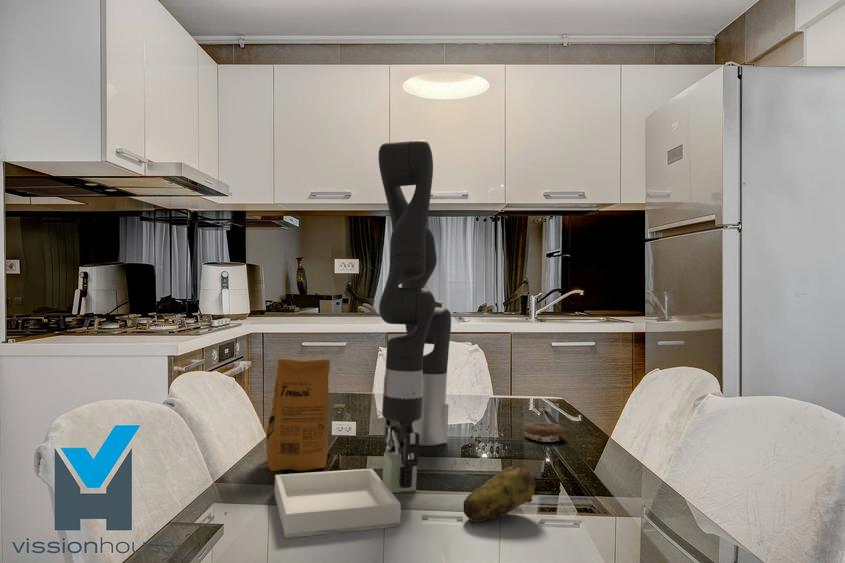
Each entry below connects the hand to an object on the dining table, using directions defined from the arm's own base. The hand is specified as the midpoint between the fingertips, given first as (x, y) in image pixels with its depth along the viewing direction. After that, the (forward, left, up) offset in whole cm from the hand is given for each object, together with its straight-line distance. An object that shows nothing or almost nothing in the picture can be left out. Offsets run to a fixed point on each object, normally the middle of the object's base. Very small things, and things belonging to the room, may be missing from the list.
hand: (398, 479), depth 105 cm
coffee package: (+17, -17, -2) cm, 24 cm away
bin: (+14, +8, -1) cm, 16 cm away
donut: (-48, -26, -2) cm, 55 cm away
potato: (-12, +17, -2) cm, 21 cm away
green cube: (0, 0, -1) cm, 1 cm away
